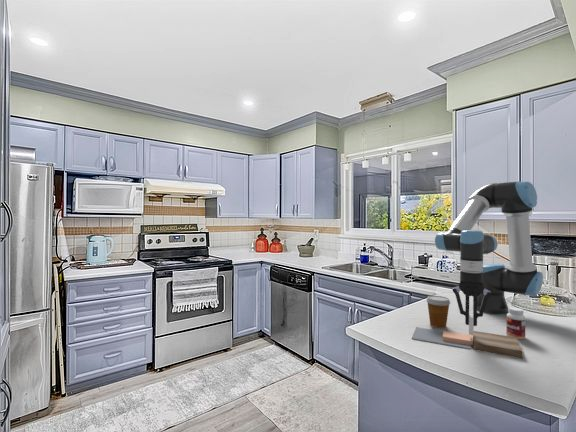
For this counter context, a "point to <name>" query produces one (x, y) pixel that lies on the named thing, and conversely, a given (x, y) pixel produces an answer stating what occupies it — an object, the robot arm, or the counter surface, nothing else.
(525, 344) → the counter surface
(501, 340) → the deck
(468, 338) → the card
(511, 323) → the pill bottle
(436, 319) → the disposable coffee cup
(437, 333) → the mat
